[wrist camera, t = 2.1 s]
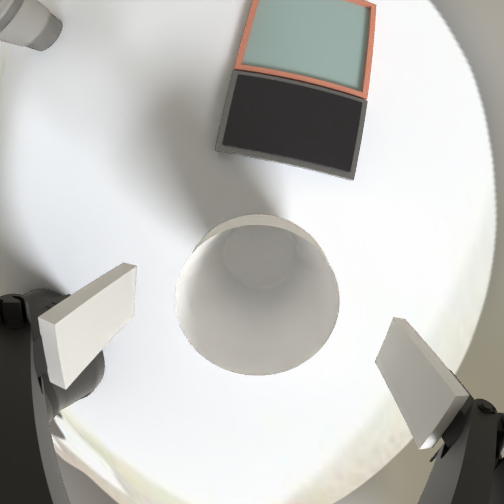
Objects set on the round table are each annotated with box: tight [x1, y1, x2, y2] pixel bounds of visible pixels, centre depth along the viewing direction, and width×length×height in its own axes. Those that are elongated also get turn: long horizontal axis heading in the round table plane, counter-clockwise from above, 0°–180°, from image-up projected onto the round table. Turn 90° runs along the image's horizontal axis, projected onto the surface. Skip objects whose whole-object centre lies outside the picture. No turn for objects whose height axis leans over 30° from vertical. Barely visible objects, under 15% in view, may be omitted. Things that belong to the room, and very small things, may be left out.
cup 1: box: [0, 0, 62, 51], centre depth 15 cm, size 7×7×12 cm
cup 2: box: [175, 214, 339, 375], centre depth 21 cm, size 9×9×12 cm
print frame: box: [234, 0, 376, 100], centre depth 21 cm, size 12×12×1 cm
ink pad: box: [215, 70, 367, 180], centre depth 23 cm, size 12×8×2 cm, turn 79°
